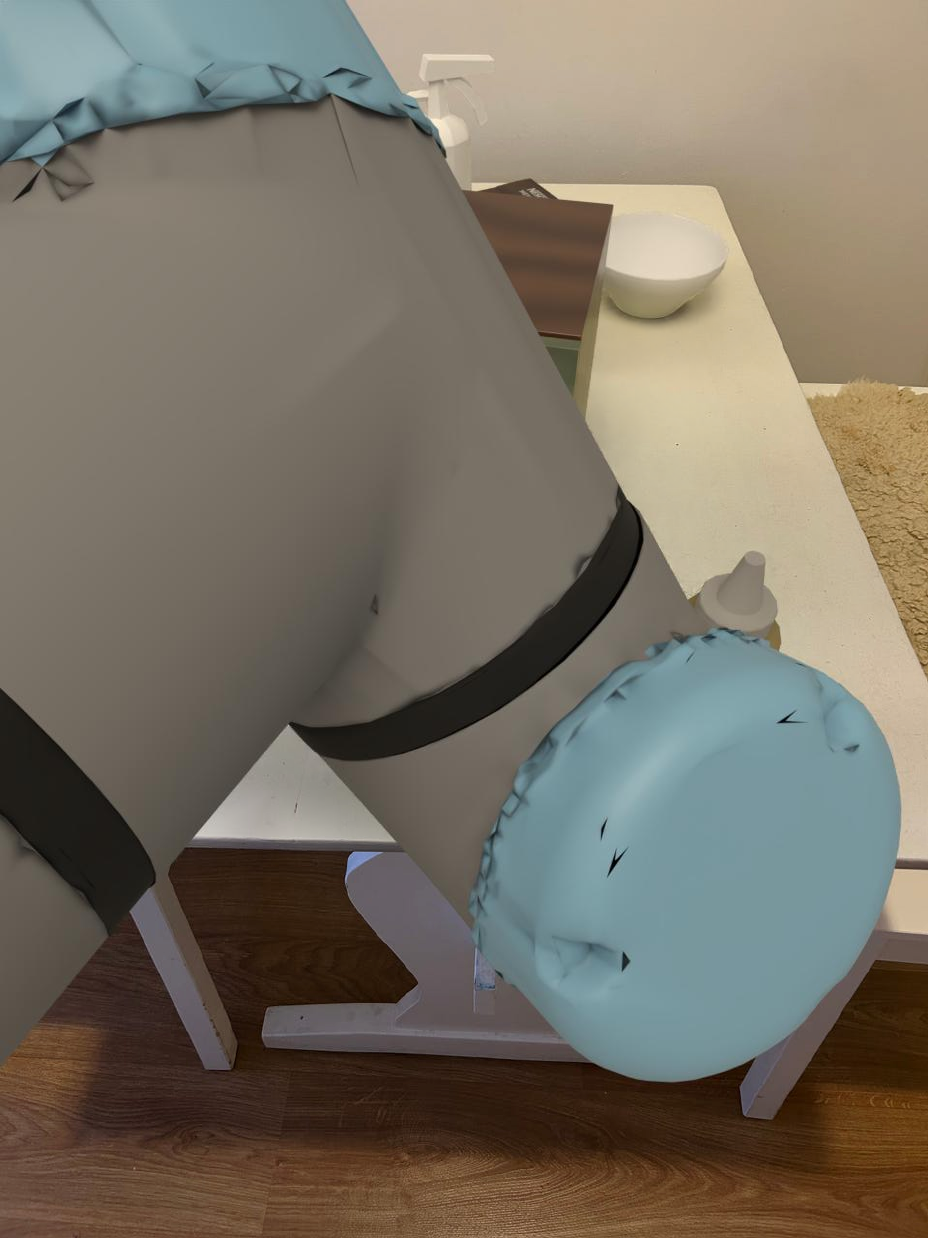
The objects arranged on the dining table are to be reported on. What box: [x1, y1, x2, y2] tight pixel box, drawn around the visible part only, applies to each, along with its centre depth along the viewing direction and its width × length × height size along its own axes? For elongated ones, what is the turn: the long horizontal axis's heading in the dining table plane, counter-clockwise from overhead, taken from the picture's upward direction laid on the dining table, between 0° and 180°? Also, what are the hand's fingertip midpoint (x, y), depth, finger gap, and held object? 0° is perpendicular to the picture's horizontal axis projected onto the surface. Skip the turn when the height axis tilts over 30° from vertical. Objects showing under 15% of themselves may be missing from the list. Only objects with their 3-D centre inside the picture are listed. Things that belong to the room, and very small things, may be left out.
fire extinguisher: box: [405, 53, 496, 191], centre depth 90 cm, size 7×12×25 cm, turn 104°
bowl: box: [603, 211, 730, 320], centre depth 96 cm, size 16×16×7 cm
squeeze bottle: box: [687, 550, 782, 652], centre depth 54 cm, size 8×8×18 cm
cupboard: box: [462, 190, 614, 421], centre depth 67 cm, size 18×26×24 cm
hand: (271, 556), depth 45 cm, fingers open, 13 cm apart
